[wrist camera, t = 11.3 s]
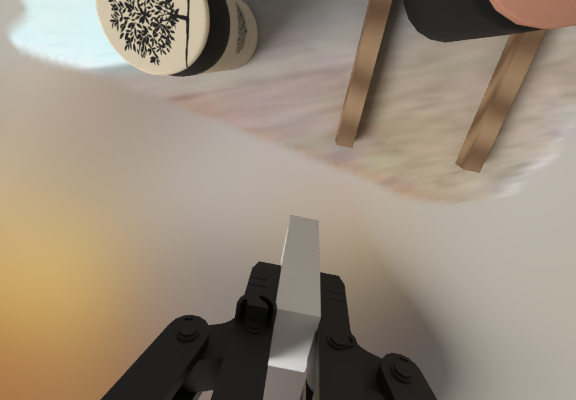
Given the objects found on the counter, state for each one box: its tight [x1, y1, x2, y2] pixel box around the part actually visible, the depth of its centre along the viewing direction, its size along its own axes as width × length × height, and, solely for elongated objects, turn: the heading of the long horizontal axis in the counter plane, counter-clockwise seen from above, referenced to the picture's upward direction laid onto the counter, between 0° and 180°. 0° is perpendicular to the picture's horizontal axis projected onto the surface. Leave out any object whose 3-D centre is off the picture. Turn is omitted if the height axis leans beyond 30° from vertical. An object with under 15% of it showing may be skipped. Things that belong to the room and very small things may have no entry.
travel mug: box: [96, 0, 258, 76], centre depth 28 cm, size 8×8×18 cm
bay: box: [335, 0, 547, 173], centre depth 33 cm, size 28×18×3 cm, turn 170°
